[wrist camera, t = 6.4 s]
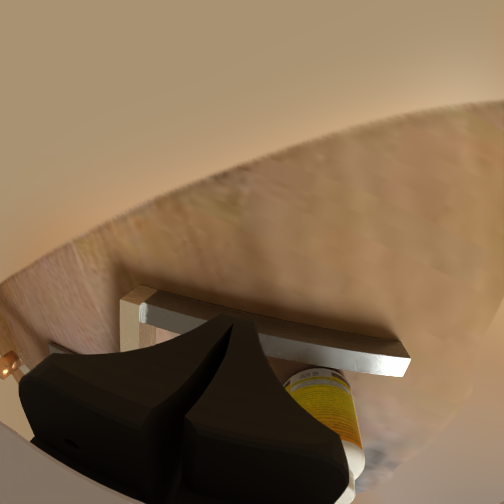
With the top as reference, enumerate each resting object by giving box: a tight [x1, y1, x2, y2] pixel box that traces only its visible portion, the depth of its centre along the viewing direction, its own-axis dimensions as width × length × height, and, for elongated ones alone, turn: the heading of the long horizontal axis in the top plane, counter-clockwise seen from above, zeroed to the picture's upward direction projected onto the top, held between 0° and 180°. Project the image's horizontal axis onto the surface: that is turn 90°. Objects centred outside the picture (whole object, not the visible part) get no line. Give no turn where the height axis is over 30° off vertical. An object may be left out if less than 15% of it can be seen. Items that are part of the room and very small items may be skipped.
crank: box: [0, 350, 36, 380], centre depth 20 cm, size 9×4×4 cm, turn 51°
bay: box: [120, 285, 411, 377], centre depth 20 cm, size 12×20×3 cm, turn 79°
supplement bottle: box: [283, 368, 365, 504], centre depth 16 cm, size 6×6×10 cm
